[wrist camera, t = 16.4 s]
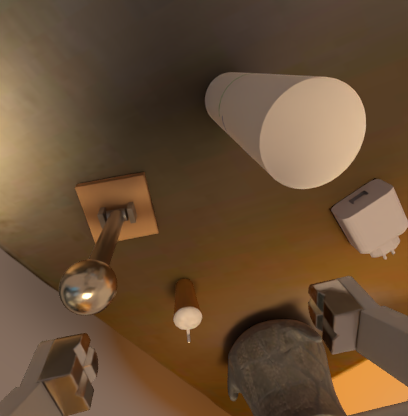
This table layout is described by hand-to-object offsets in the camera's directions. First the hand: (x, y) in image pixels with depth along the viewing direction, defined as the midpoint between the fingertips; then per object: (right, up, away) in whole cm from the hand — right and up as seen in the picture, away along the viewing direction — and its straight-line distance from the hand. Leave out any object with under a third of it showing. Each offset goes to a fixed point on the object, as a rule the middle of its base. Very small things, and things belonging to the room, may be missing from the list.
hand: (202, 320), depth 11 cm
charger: (+30, +2, +43) cm, 52 cm away
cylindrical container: (+4, +19, +31) cm, 37 cm away
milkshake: (-4, -10, +44) cm, 45 cm away
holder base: (-13, +4, +35) cm, 38 cm away
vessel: (+15, -25, +53) cm, 61 cm away
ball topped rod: (-12, +2, +23) cm, 26 cm away
